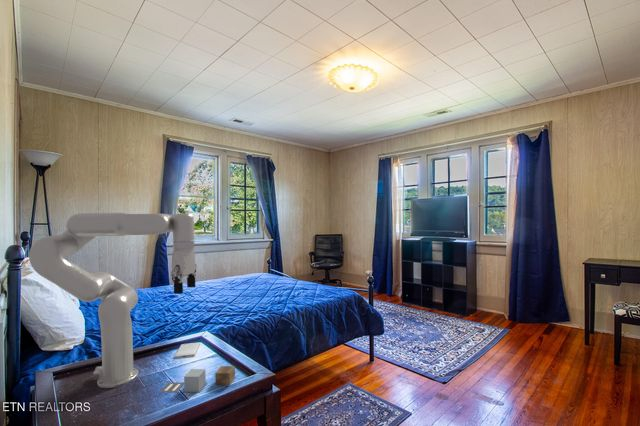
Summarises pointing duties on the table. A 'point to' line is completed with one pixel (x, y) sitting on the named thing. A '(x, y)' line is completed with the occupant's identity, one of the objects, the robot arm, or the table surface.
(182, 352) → the hard drive
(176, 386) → the board
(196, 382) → the light grey cube
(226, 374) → the walnut block
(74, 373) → the table surface
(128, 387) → the table surface
